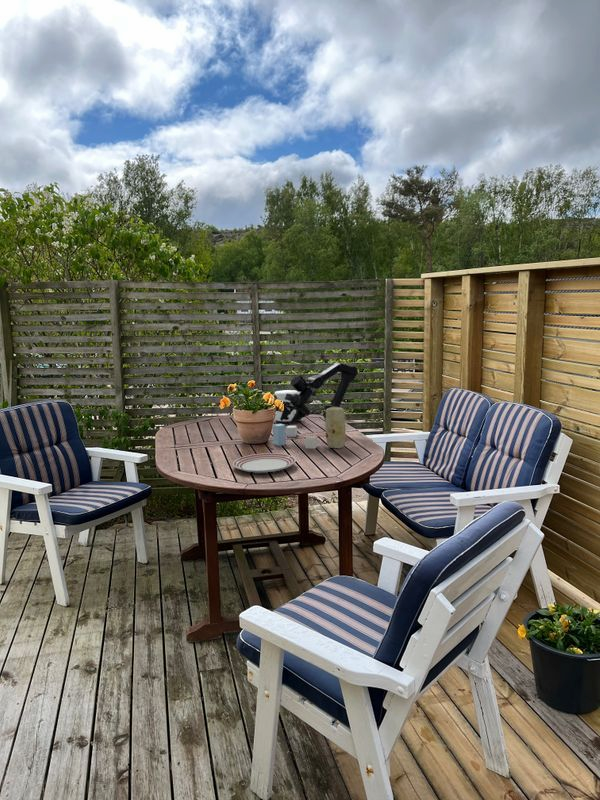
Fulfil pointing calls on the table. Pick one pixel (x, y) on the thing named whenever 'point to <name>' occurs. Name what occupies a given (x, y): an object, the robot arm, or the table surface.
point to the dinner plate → (264, 462)
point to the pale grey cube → (291, 431)
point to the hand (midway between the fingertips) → (286, 421)
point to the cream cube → (311, 441)
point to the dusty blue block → (279, 434)
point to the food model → (335, 427)
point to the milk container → (281, 396)
